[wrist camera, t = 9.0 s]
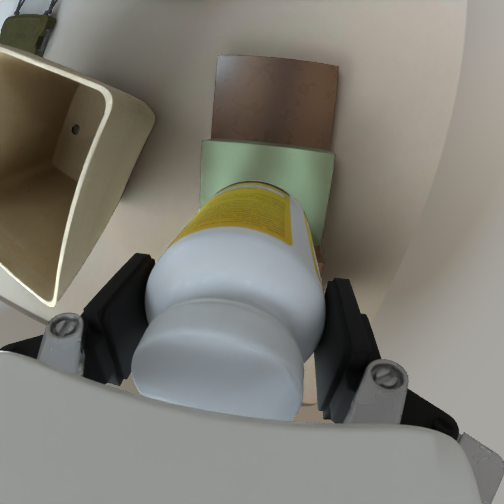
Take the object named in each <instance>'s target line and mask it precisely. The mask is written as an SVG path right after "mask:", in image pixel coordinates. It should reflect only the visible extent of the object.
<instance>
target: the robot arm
mask: <svg viewBox="0 0 504 504" xmlns="http://www.w3.org/2000/svg"><path fill="white" fill-rule="evenodd" d="M154 266H155V260H154V259H151V256H150V255H148V254H141V253H136V254H134V255H133V256H132V257H131V258H130V259H129V260H128V262H127V263H126V264H125V265H124V266H123V267H122V268H121V269H120V270H119V271H118V272H117V273H116V274H115V275H114V276H113V277H112V278H111V279H110V280H109V282H108V283H107V284H106V285H105V286H104V287H103V288H102V289H101V290H100V291H99V292H98V294H97V295H96V296H95V297H94V298H93V299H92V300H91V301H90V302H89V304H88V305H87V306H86V307H85V308H84V309H83V310H84V312H83V313H82V314H81V316H79V315H78V314H75V313H62V314H59V315H57V316H55V317H54V318H52V319H51V320H50V321H49V322H48V324H47V326H46V329H45V332H44V335H40V336H37V337H33V338H30V339H26V340H23V341H19V342H16V343H12V344H8V345H6V346H4V347H2V348H1V349H0V504H491V502H492V500H493V498H494V496H495V494H496V491H497V489H498V487H499V485H500V482H501V480H502V478H503V475H504V461H503V459H502V458H501V457H500V456H499V455H498V454H497V453H495V452H494V451H492V450H490V449H489V448H487V447H486V446H484V445H483V444H481V443H480V442H478V441H477V440H475V439H474V438H472V437H471V436H469V435H468V434H466V433H465V432H464V433H463V434H462V435H461V434H459V429H458V425H457V423H456V422H455V420H454V419H453V418H452V417H451V416H450V415H448V414H447V413H445V412H444V411H442V410H440V409H439V408H437V407H436V406H434V405H433V404H431V403H429V402H428V401H426V400H425V399H423V398H421V397H420V396H418V395H417V394H415V393H414V392H412V391H411V390H409V389H408V388H407V387H408V375H407V372H406V371H405V370H404V368H403V367H402V366H400V365H399V364H398V363H396V362H393V361H391V360H386V359H381V356H380V353H379V350H378V347H377V344H376V341H375V338H374V335H373V332H372V329H371V326H370V323H369V320H368V317H367V315H366V314H361V313H360V310H359V307H358V304H357V301H356V298H355V295H354V292H353V289H352V286H351V283H350V281H349V279H342V278H334V279H333V281H328V284H327V288H326V292H325V296H324V297H325V304H326V320H325V327H324V330H323V334H322V337H321V339H320V341H319V344H318V345H317V347H316V349H315V350H314V358H315V371H316V385H317V401H318V410H319V411H323V419H331V420H332V421H333V422H334V423H312V422H295V421H282V420H272V419H262V418H254V417H246V416H239V415H232V414H225V413H219V412H213V411H208V410H202V409H197V408H192V407H187V406H182V405H178V404H173V403H169V402H165V401H161V400H157V399H153V398H149V397H145V396H141V395H138V394H134V393H131V392H127V391H124V390H120V389H117V388H114V387H111V386H108V385H105V384H106V383H112V384H115V385H118V386H120V385H121V383H122V381H123V379H127V378H128V377H129V375H130V373H131V364H132V359H133V355H134V352H135V350H136V348H137V347H138V345H139V343H140V341H141V339H142V337H143V335H144V333H145V331H146V329H147V328H148V326H149V323H148V320H147V316H146V311H145V290H146V285H147V282H148V279H149V276H150V274H151V271H152V269H153V268H154Z"/></svg>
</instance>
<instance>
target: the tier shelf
mask: <svg viewBox="0 0 504 504" xmlns="http://www.w3.org/2000/svg"><path fill="white" fill-rule="evenodd" d="M338 68H339V66H335V65H329V64H324V63H317V62H310V61H303V60H295V59H286V58H276V57H263V56H246V55H218V59H217V69H216V80H215V92H214V104H213V118H212V132H211V138H210V139H207V140H203V141H202V156H201V179H200V209H201V208H202V207H203V206H204V205H205V204H206V202H207V201H208V200H209V199H210V198H211V197H212V196H213V195H214V194H216V193H217V192H218V191H219V190H221V189H223V188H224V187H226V186H229V185H231V184H233V183H237V182H241V181H250V180H253V181H263V182H268V183H271V184H273V185H276V186H278V187H280V188H282V189H283V190H285V191H286V192H288V193H289V194H290V195H291V196H293V197H294V198H295V199H296V201H297V202H298V203H299V204H300V206H301V207H302V209H303V211H304V212H305V214H306V217H307V220H308V223H309V227H310V231H311V236H312V241H313V245H314V250H315V254H316V258H317V263H318V267H319V271H320V276H321V277H322V273H323V268H324V264H325V262H324V259H323V255H322V251H321V247H320V246H321V241H322V235H323V230H324V224H325V218H326V213H327V207H328V201H329V195H330V188H331V182H332V175H333V169H334V162H335V154H334V153H332V152H331V151H330V144H331V136H332V128H333V119H334V110H335V101H336V91H337V80H338Z"/></svg>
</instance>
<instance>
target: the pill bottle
mask: <svg viewBox="0 0 504 504" xmlns="http://www.w3.org/2000/svg"><path fill="white" fill-rule="evenodd" d="M145 311H146V316H147V320H148V323H149V326H148V328H147V329H146V331H145V333H144V335H143V337H142V339H141V341H140V343H139V345H138V347H137V348H136V350H135V352H134V355H133V359H132V364H131V372H132V377H133V381H134V383H135V385H136V387H137V389H138V391H139V392H140V394H141V395H142V396H145V397H149V398H153V399H157V400H161V401H165V402H169V403H173V404H178V405H182V406H187V407H192V408H197V409H202V410H208V411H213V412H219V413H225V414H232V415H239V416H246V417H254V418H262V419H272V420H282V421H291V420H292V419H293V418H294V417H295V416H296V415H297V413H298V411H299V409H300V407H301V404H302V400H303V380H304V363H305V362H306V361H307V359H308V358H309V357H310V356H311V355H312V353H313V352H314V350H315V349H316V347H317V345H318V344H319V341H320V339H321V337H322V334H323V330H324V327H325V320H326V304H325V297H324V291H323V285H322V280H321V276H320V271H319V267H318V263H317V258H316V254H315V250H314V245H313V241H312V236H311V231H310V227H309V223H308V220H307V217H306V214H305V212H304V211H303V209H302V207H301V206H300V204H299V203H298V202H297V201H296V199H295V198H294V197H293V196H291V195H290V194H289V193H288V192H286V191H285V190H283V189H282V188H280V187H278V186H276V185H273V184H271V183H268V182H263V181H253V180H250V181H241V182H237V183H233V184H231V185H229V186H226V187H224V188H223V189H221V190H219V191H218V192H217V193H216V194H214V195H213V196H212V197H211V198H210V199H209V200H208V201H207V202H206V204H205V205H204V206H203V207H202V208H201V209H200V210H199V212H198V213H197V214H196V215H195V216H194V217H193V219H192V220H191V221H190V222H189V223H188V224H187V226H186V227H185V228H184V229H183V230H182V232H181V233H180V234H179V235H178V236H177V238H176V239H175V240H174V241H173V242H172V243H171V245H170V246H169V247H168V248H167V249H166V251H165V252H164V253H163V254H162V256H161V257H160V258H159V260H158V261H157V263H156V264H155V266H154V268H153V269H152V271H151V274H150V276H149V279H148V282H147V285H146V290H145Z"/></svg>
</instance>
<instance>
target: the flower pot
mask: <svg viewBox="0 0 504 504" xmlns="http://www.w3.org/2000/svg"><path fill="white" fill-rule="evenodd" d="M104 112H105V114H104ZM154 123H155V115H154V113H153V111H152V110H151V109H150V107H149V106H148V105H147V104H145V103H144V102H143V101H141V100H140V99H138V98H136V97H134V96H132V95H130V94H128V93H125V92H123V91H121V90H119V89H116V88H114V87H112V86H110V85H107V84H105V83H103V82H100V81H98V80H96V79H93V78H91V77H89V76H86V75H84V74H82V73H79V72H77V71H74V70H72V69H69V68H67V67H65V66H62V65H60V64H57V63H55V62H52V61H50V60H47V59H45V58H42V57H40V56H37V55H35V54H32V53H30V52H27V51H24V50H21V49H18V48H14V47H11V46H7V45H3V44H0V265H1V266H2V267H3V268H4V269H5V270H6V271H7V272H8V273H9V274H10V275H11V276H12V277H14V278H15V279H16V280H17V281H18V282H19V283H20V284H22V285H23V286H24V287H25V288H26V289H27V290H29V291H30V292H31V293H32V294H34V295H35V296H36V297H37V298H38V299H40V300H41V301H42V302H43V303H45V304H46V305H48V306H51V307H53V306H55V305H56V304H57V302H58V301H59V300H60V298H61V297H62V295H63V294H64V293H65V291H66V290H67V288H68V287H69V285H70V284H71V283H72V281H73V279H74V278H75V276H76V275H77V273H78V272H79V270H80V269H81V267H82V265H83V264H84V262H85V261H86V259H87V258H88V256H89V254H90V253H91V251H92V250H93V248H94V246H95V244H96V243H97V241H98V239H99V238H100V236H101V234H102V233H103V231H104V229H105V227H106V226H107V224H108V222H109V220H110V218H111V216H112V215H113V213H114V211H115V209H116V207H117V205H118V203H119V201H120V198H121V196H122V194H123V191H124V189H125V186H126V184H127V181H128V179H129V177H130V174H131V172H132V170H133V168H134V165H135V163H136V161H137V159H138V156H139V154H140V152H141V150H142V148H143V146H144V144H145V142H146V140H147V137H148V135H149V133H150V131H151V129H152V127H153V125H154ZM75 124H77V125H78V126H79V132H78V133H77V134H73V132H72V127H73V125H75ZM83 165H84V166H83Z"/></svg>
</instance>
